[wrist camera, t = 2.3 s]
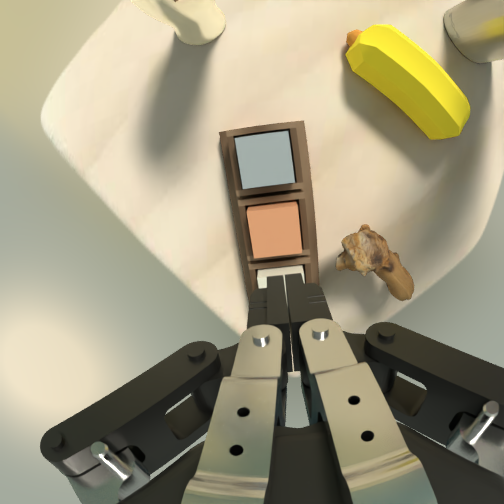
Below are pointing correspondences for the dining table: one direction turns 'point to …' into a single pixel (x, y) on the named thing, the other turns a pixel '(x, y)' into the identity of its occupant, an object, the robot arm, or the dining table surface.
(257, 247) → the terracotta button
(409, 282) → the lion figurine
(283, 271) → the ivory button
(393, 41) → the ripe banana
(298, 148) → the button board
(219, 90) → the dining table surface
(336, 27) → the dining table surface
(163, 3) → the beer glass
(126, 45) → the dining table surface
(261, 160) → the slate button
